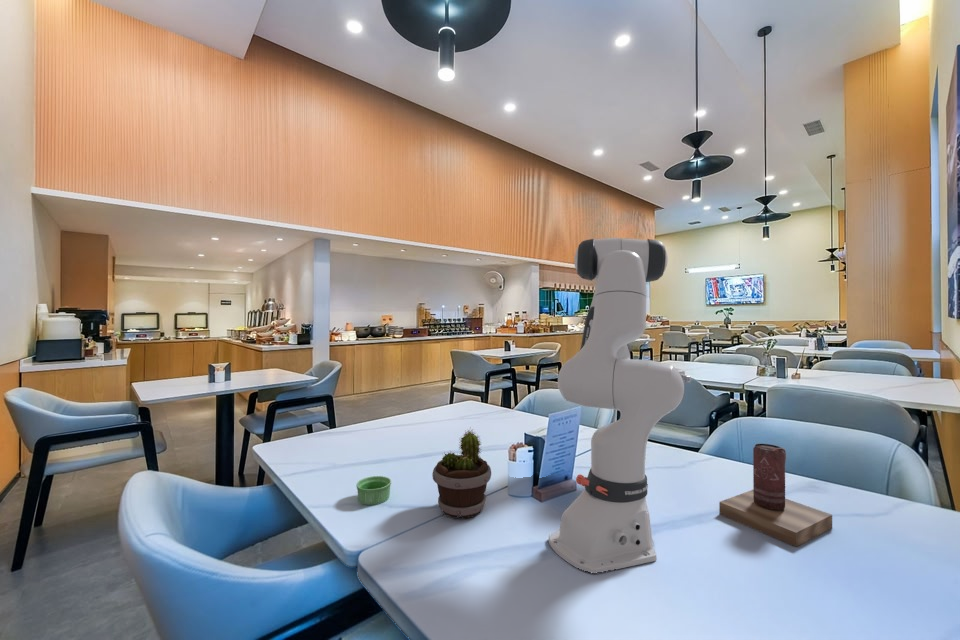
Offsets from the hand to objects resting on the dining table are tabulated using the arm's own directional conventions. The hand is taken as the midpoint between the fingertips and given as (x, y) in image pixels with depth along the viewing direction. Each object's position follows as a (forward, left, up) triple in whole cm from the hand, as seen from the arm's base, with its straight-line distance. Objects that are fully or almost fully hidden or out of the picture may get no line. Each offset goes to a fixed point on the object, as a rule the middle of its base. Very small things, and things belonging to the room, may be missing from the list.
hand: (678, 380), depth 113 cm
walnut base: (+2, -23, -30) cm, 38 cm away
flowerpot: (-60, +17, -30) cm, 69 cm away
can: (+2, -22, -27) cm, 35 cm away
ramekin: (-78, +34, -30) cm, 90 cm away
